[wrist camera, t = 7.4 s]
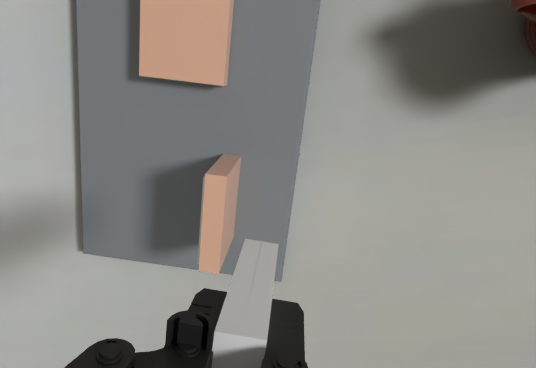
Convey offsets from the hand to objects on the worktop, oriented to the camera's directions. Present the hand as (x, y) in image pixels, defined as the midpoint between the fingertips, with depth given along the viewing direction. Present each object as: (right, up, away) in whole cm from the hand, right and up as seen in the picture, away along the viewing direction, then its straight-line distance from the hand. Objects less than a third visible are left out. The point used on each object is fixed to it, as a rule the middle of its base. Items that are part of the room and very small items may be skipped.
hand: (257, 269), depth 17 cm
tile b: (-3, +3, +19) cm, 19 cm away
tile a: (-3, +16, +14) cm, 21 cm away
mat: (-6, +10, +18) cm, 22 cm away
